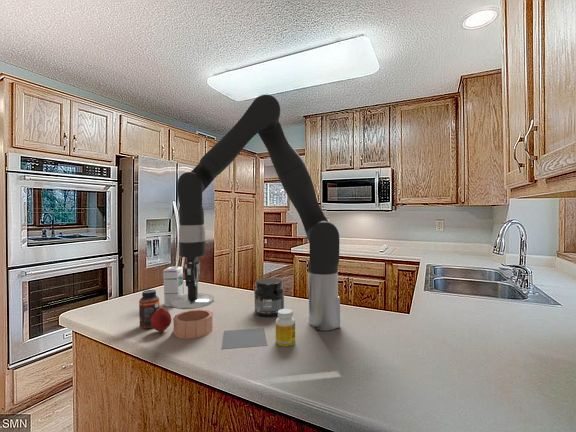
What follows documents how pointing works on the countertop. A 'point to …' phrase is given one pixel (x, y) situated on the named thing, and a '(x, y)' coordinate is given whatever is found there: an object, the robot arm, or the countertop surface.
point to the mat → (244, 338)
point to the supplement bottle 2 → (285, 328)
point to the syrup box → (172, 283)
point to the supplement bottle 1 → (147, 307)
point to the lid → (192, 301)
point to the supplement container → (268, 297)
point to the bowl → (193, 323)
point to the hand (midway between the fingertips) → (193, 297)
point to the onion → (161, 319)
